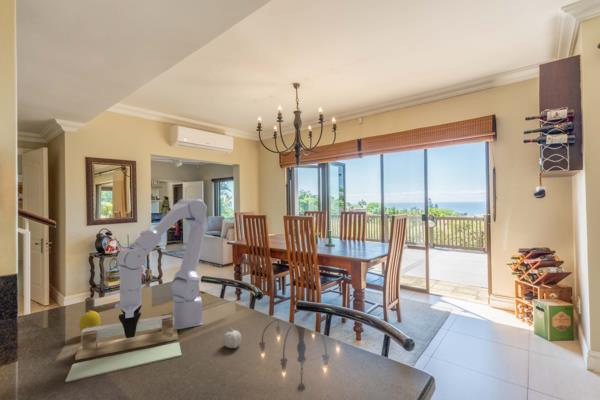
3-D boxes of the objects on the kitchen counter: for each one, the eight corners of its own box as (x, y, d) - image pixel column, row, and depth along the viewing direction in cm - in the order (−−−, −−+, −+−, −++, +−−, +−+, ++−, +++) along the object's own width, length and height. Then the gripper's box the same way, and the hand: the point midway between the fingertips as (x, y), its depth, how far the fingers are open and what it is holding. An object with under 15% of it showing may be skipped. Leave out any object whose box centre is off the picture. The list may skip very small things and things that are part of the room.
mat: (178, 343, 90) (178, 342, 90) (181, 355, 83) (181, 354, 83) (72, 365, 78) (72, 364, 78) (65, 382, 71) (65, 380, 71)
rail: (173, 322, 96) (173, 314, 96) (174, 325, 93) (174, 316, 93) (82, 337, 85) (83, 328, 85) (81, 341, 82) (81, 332, 82)
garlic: (221, 343, 90) (221, 326, 90) (239, 340, 92) (239, 323, 92) (223, 352, 84) (223, 334, 84) (242, 349, 86) (242, 331, 86)
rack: (176, 331, 98) (176, 312, 98) (178, 339, 92) (178, 318, 92) (79, 349, 86) (79, 328, 86) (75, 359, 80) (75, 336, 80)
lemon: (89, 339, 92) (89, 314, 92) (74, 338, 93) (74, 312, 93) (104, 332, 97) (104, 307, 97) (90, 330, 98) (90, 306, 98)
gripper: (117, 283, 94) (117, 326, 94) (112, 297, 81) (112, 346, 81) (142, 280, 97) (142, 322, 97) (141, 293, 84) (141, 341, 84)
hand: (130, 333), depth 89 cm, fingers open, 5 cm apart
